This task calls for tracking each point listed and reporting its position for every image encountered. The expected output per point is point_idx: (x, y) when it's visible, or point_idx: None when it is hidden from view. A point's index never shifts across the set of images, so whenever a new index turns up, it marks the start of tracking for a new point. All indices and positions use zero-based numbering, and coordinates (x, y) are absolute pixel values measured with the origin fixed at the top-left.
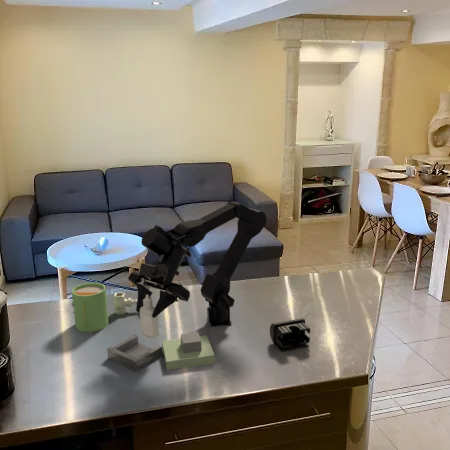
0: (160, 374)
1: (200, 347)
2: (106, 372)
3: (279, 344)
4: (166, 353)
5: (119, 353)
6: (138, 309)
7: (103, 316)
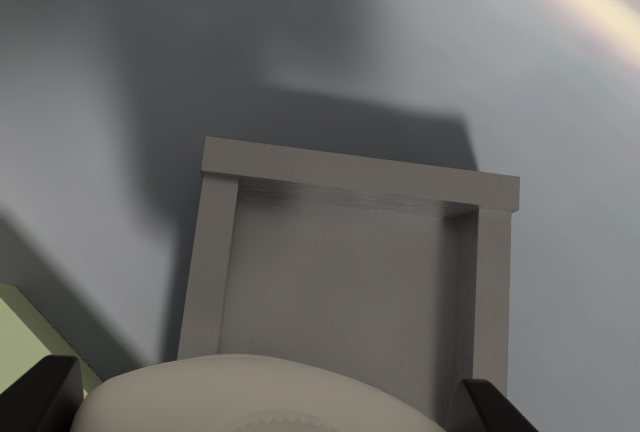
0: (27, 217)
1: None
2: (371, 69)
3: None
4: None
5: (389, 168)
6: (466, 418)
7: None
